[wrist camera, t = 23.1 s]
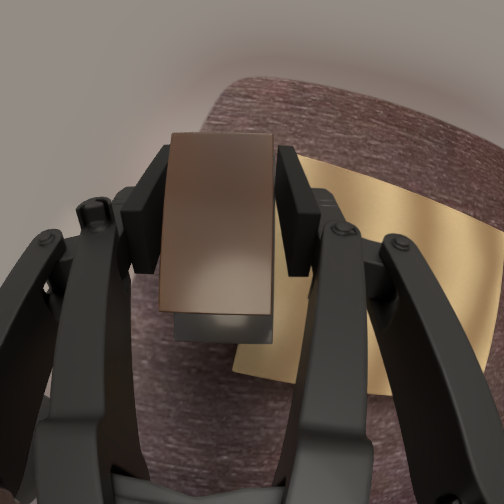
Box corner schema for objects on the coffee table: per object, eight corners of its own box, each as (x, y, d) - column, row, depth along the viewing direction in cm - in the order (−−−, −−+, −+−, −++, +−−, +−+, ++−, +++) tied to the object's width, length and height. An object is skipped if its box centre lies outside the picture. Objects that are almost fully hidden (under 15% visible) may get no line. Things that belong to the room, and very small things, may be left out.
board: (232, 366, 18) (231, 371, 17) (282, 158, 20) (285, 151, 19) (467, 394, 19) (476, 398, 18) (496, 235, 20) (505, 233, 19)
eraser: (182, 333, 17) (136, 371, 9) (190, 168, 18) (159, 88, 10) (268, 336, 17) (293, 378, 9) (270, 170, 19) (293, 89, 10)
